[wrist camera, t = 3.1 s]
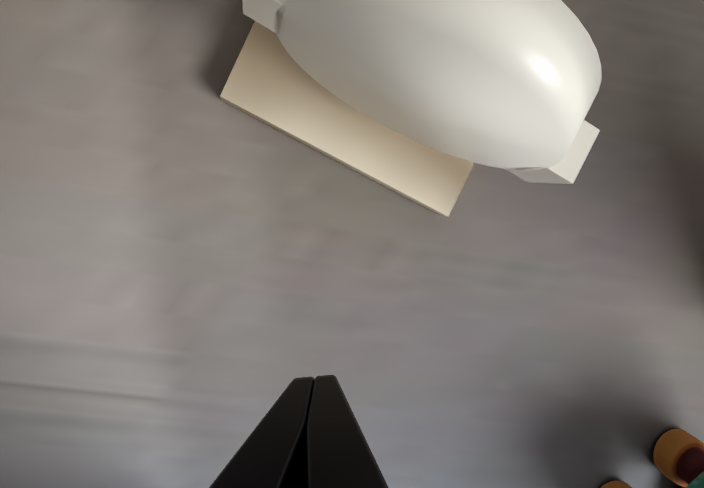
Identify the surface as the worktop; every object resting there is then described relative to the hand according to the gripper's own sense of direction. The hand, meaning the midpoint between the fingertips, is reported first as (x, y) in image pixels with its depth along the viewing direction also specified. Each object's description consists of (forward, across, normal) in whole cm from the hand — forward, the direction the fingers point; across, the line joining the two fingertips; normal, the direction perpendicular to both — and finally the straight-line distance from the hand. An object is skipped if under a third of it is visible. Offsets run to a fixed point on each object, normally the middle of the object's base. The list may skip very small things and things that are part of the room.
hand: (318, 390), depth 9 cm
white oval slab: (+10, +2, +3) cm, 10 cm away
